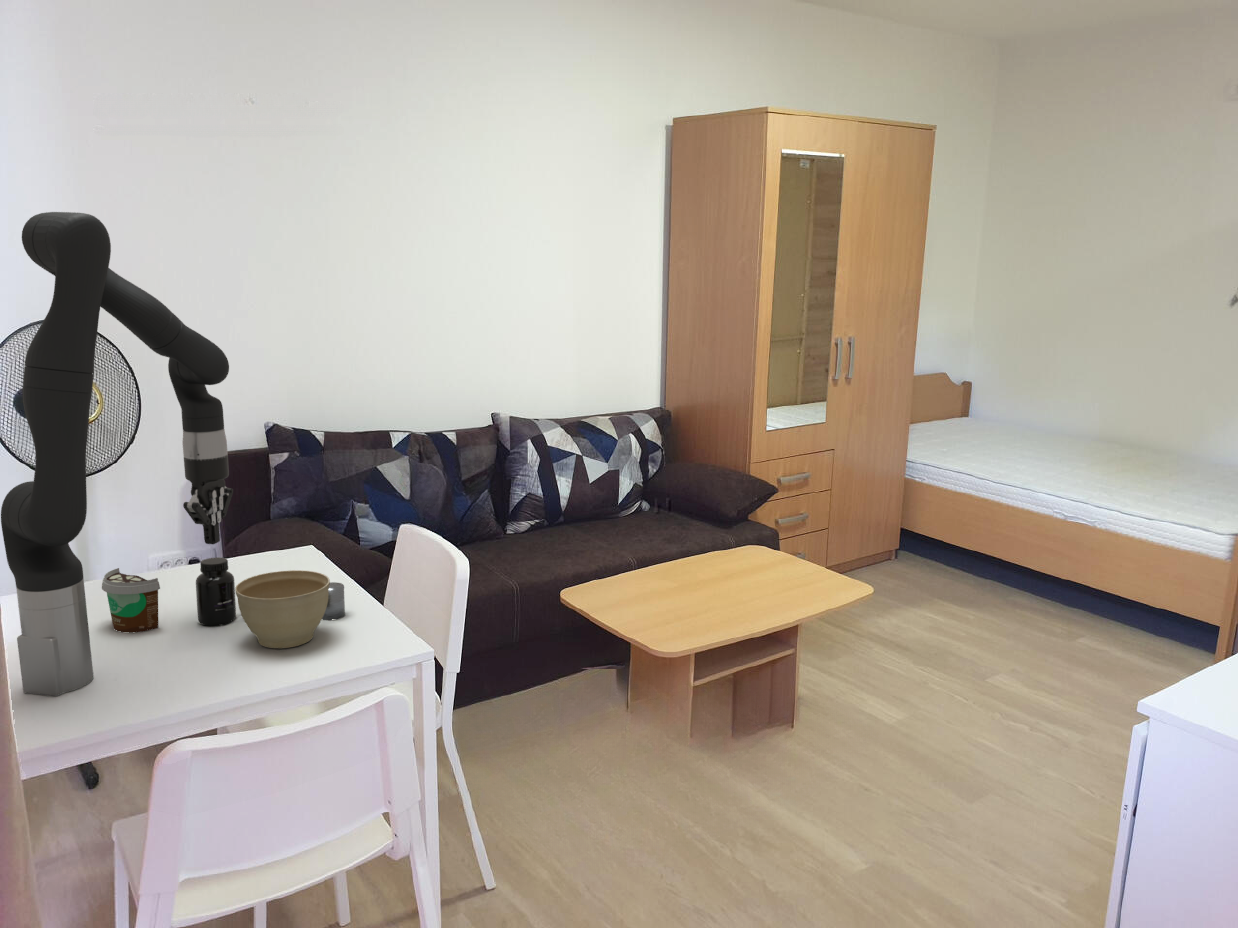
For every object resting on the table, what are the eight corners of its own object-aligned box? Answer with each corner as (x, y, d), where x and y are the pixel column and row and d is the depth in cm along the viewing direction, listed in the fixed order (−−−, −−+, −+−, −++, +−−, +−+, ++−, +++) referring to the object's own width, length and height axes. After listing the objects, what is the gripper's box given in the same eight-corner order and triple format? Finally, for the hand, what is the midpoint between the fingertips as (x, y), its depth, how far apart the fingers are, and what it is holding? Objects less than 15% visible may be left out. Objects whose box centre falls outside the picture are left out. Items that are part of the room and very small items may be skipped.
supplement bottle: (227, 627, 176) (223, 567, 173) (191, 626, 176) (187, 565, 174) (242, 614, 183) (238, 555, 180) (208, 613, 183) (203, 554, 180)
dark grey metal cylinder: (338, 621, 180) (336, 591, 179) (313, 619, 181) (312, 589, 180) (349, 611, 185) (348, 583, 184) (325, 610, 186) (324, 581, 185)
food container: (91, 627, 175) (85, 576, 173) (121, 616, 180) (116, 567, 178) (133, 640, 169) (128, 588, 167) (163, 629, 174) (159, 578, 172)
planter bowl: (348, 629, 177) (346, 574, 174) (298, 662, 161) (295, 603, 159) (275, 618, 181) (272, 565, 179) (219, 650, 166) (215, 592, 163)
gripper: (203, 461, 165) (210, 554, 169) (243, 447, 178) (249, 534, 182) (164, 459, 167) (172, 552, 170) (207, 445, 179) (214, 532, 183)
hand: (212, 542), depth 176 cm, fingers closed
